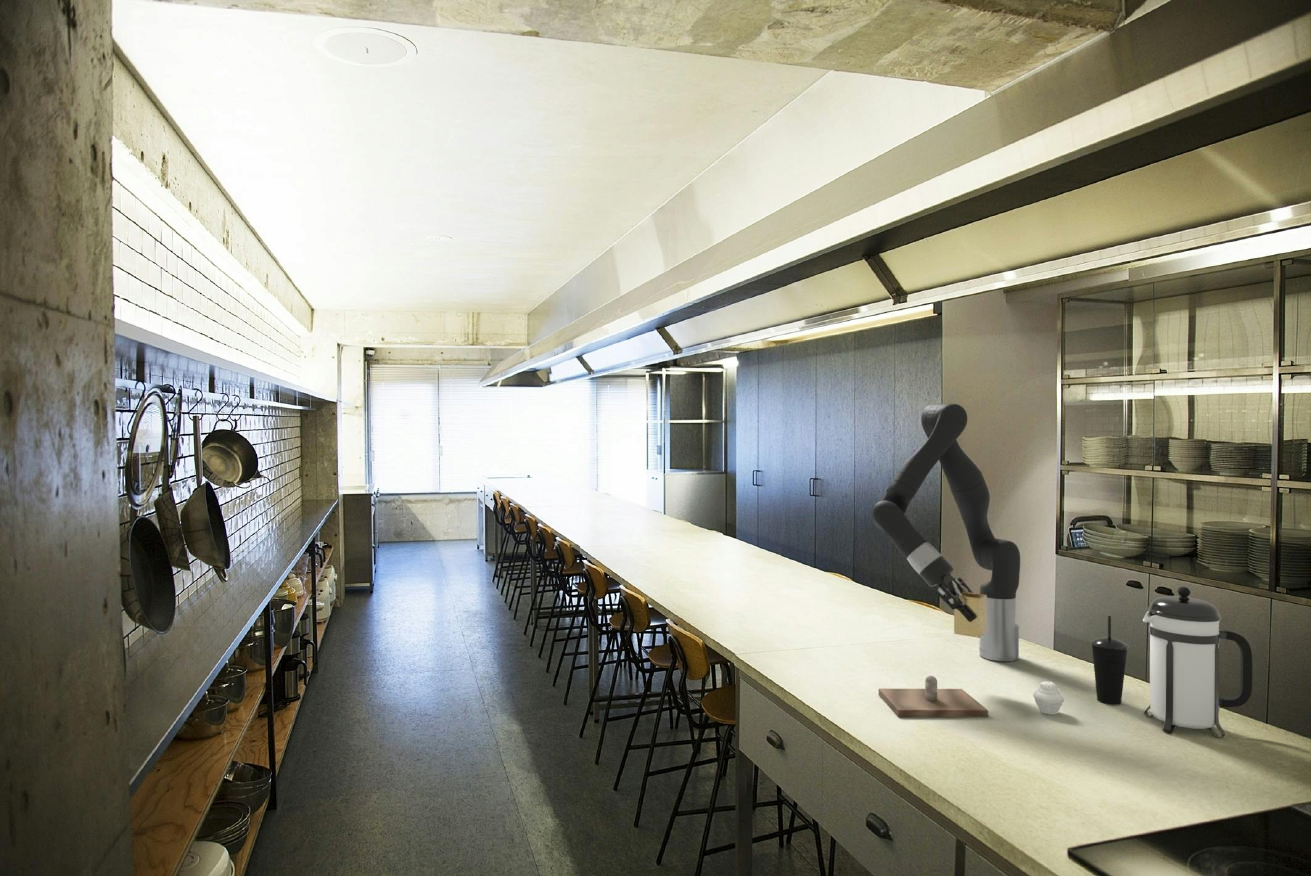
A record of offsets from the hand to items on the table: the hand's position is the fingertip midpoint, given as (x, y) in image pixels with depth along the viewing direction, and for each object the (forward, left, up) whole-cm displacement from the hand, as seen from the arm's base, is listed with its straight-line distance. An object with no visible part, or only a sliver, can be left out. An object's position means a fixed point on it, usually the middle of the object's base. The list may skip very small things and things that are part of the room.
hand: (977, 616), depth 185 cm
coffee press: (-35, +25, -17) cm, 46 cm away
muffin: (-9, +17, -17) cm, 26 cm away
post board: (+16, +13, -17) cm, 27 cm away
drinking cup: (-27, +10, -17) cm, 33 cm away
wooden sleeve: (+1, -1, -4) cm, 5 cm away
